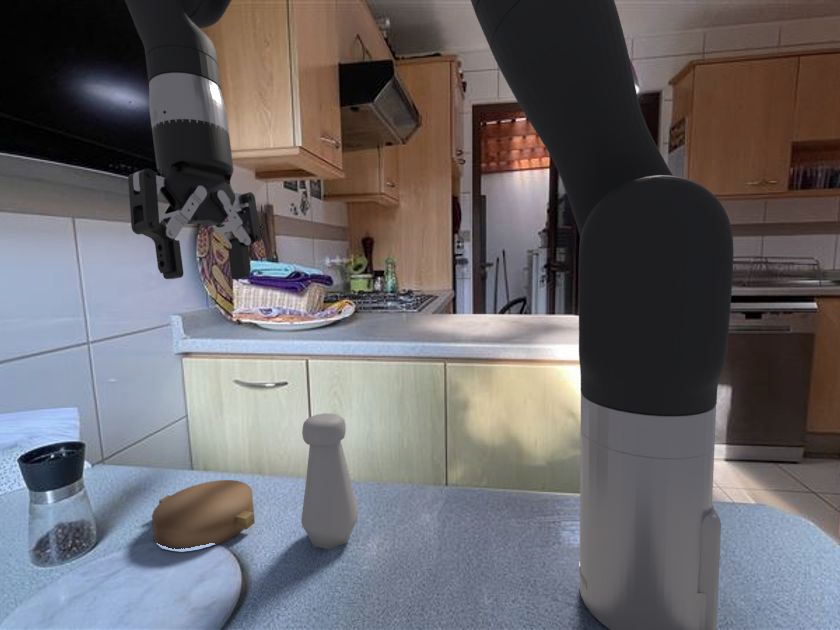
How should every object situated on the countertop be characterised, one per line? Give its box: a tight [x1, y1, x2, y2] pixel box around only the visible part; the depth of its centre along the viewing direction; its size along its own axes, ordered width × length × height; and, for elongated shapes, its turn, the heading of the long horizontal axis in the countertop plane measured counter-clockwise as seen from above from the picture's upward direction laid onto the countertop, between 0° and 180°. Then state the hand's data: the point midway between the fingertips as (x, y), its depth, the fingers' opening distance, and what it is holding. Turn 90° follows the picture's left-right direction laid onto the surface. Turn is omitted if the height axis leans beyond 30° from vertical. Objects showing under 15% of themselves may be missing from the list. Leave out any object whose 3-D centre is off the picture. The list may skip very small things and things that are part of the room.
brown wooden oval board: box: [151, 479, 256, 549], centre depth 49 cm, size 13×10×2 cm
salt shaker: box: [300, 412, 359, 551], centre depth 45 cm, size 6×6×13 cm
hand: (210, 278), depth 48 cm, fingers open, 8 cm apart
